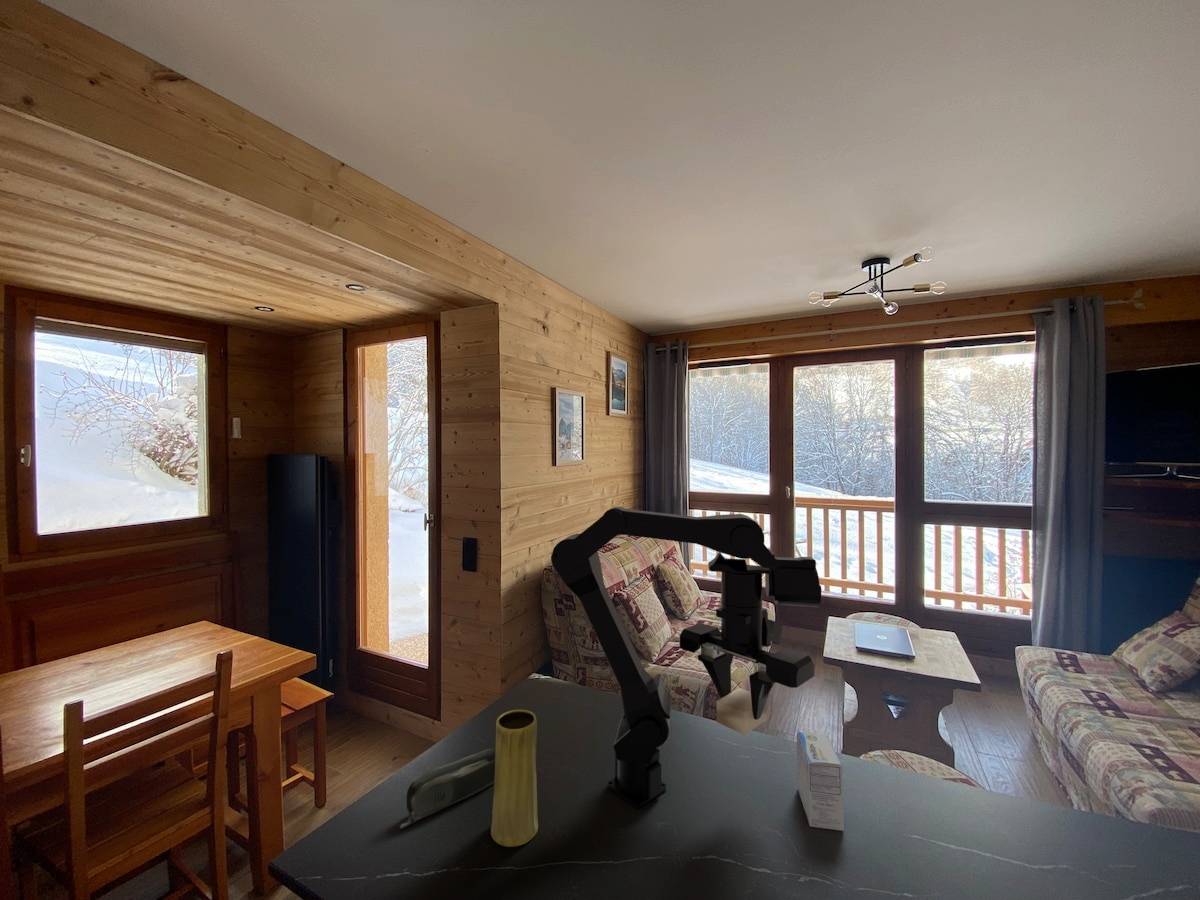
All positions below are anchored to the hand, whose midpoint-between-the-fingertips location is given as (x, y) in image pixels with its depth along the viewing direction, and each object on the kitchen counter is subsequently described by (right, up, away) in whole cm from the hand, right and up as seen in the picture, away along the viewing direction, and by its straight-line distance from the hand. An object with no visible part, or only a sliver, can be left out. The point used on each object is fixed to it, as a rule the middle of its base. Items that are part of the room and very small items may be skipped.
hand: (741, 712), depth 69 cm
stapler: (-42, -13, -1) cm, 44 cm away
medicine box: (+10, -13, -2) cm, 17 cm away
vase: (-32, -12, -6) cm, 35 cm away
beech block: (0, -1, 0) cm, 1 cm away
